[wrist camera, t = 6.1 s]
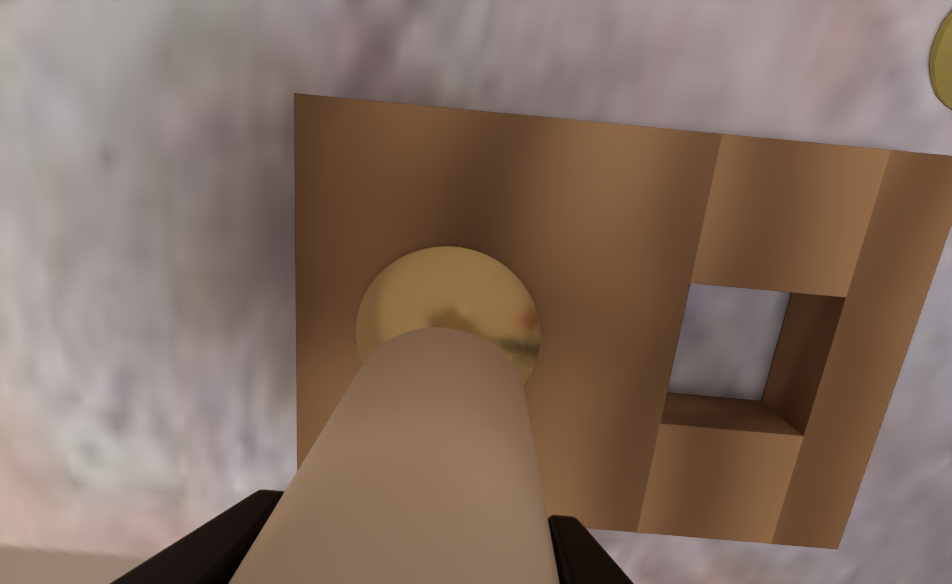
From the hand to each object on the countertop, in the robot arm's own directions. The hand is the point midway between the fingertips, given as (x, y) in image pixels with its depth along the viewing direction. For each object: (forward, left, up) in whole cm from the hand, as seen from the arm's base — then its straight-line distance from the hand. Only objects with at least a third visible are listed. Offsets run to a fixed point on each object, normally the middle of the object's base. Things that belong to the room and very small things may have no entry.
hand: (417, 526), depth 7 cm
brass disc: (0, 0, -8) cm, 8 cm away
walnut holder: (-4, -2, -11) cm, 12 cm away
